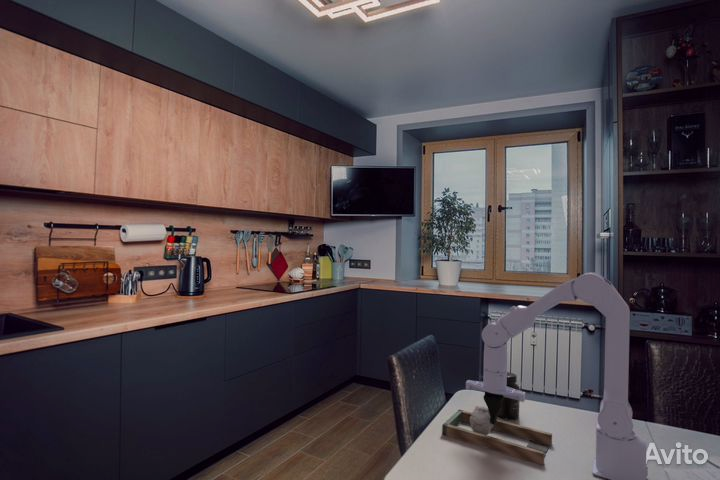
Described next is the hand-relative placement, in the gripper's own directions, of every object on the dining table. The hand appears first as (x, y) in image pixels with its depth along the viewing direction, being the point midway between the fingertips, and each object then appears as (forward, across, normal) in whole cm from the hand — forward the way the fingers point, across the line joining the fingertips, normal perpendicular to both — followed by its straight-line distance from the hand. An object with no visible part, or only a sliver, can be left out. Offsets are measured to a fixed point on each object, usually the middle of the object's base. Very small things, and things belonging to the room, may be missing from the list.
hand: (493, 422), depth 102 cm
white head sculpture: (+4, +3, 0) cm, 5 cm away
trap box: (+4, -1, 0) cm, 4 cm away
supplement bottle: (+4, +1, -17) cm, 18 cm away
